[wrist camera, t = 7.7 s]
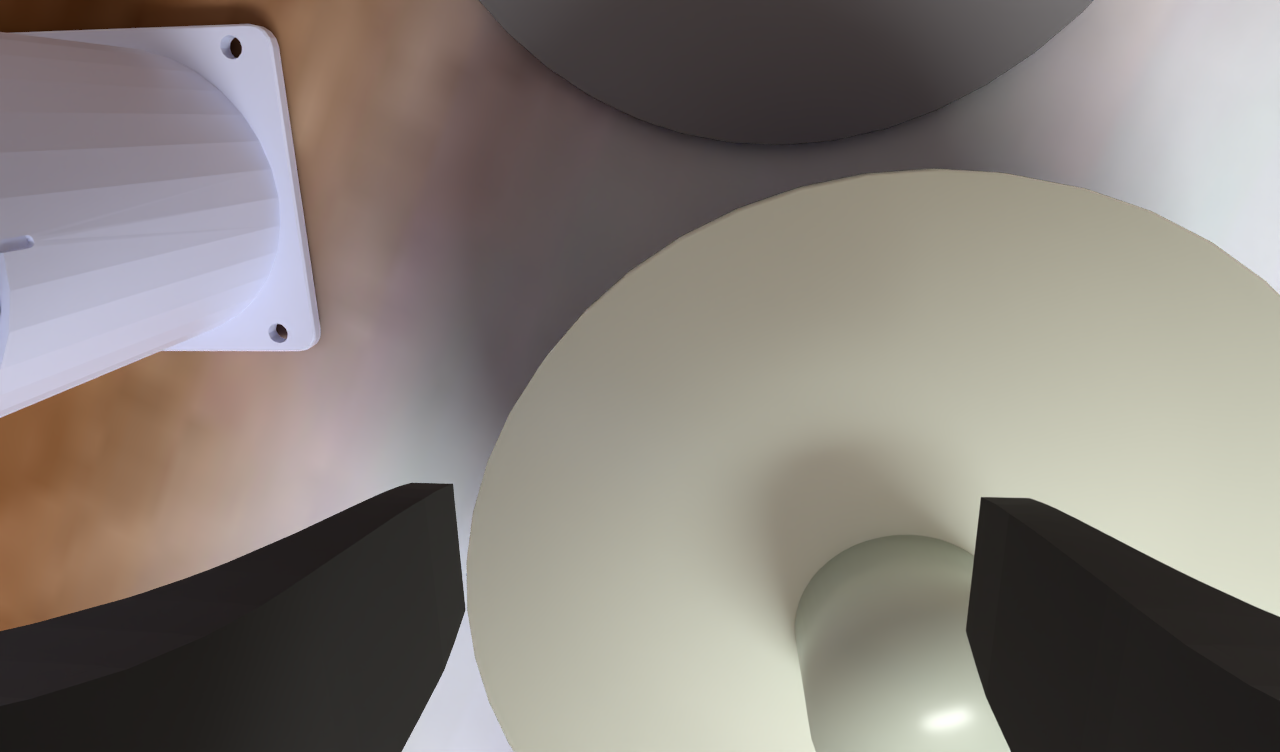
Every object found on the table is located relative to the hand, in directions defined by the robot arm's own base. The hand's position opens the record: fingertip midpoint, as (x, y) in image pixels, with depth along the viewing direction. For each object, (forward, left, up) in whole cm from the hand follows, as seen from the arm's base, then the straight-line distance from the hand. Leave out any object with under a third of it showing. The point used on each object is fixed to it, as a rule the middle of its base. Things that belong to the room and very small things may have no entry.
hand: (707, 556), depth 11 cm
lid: (+4, -4, -5) cm, 7 cm away
